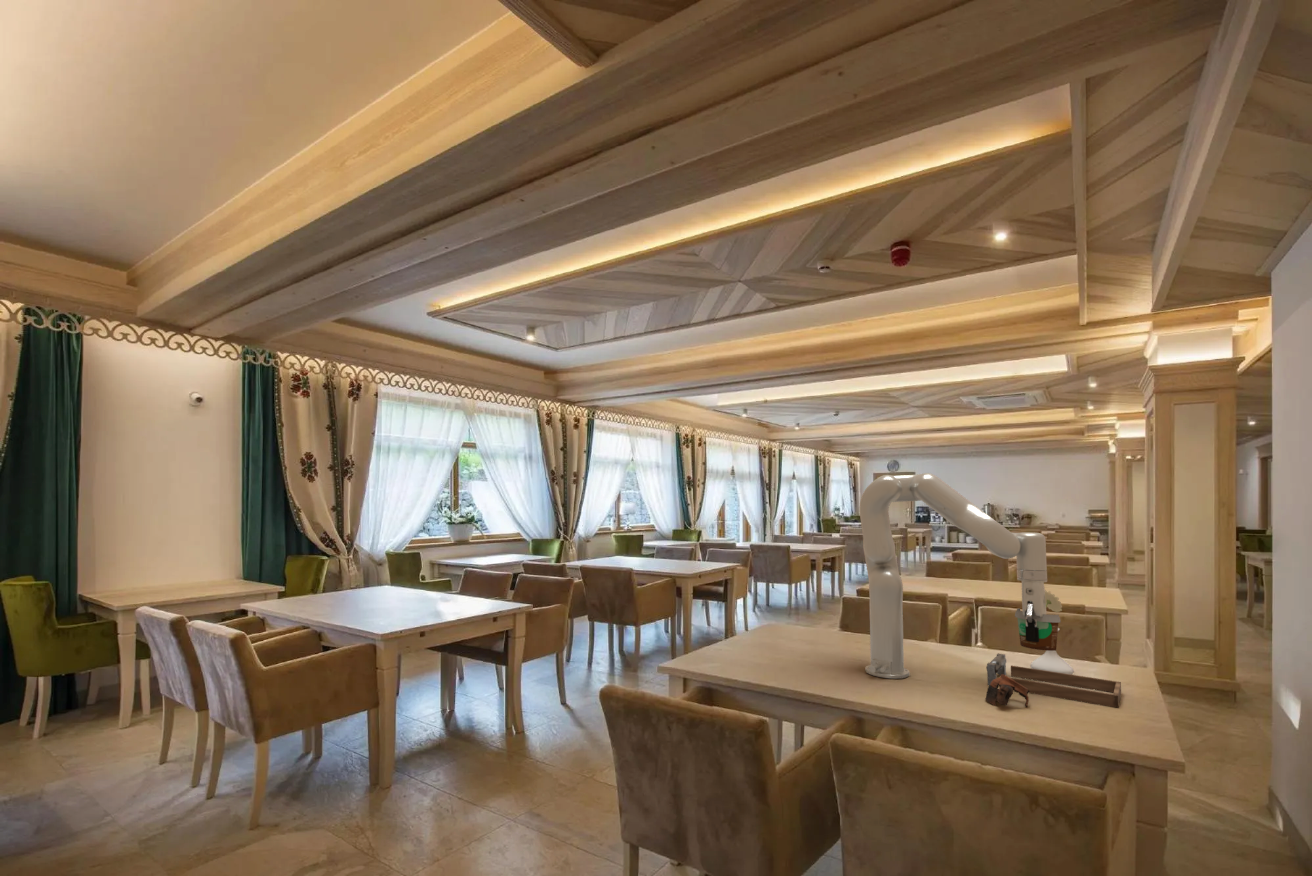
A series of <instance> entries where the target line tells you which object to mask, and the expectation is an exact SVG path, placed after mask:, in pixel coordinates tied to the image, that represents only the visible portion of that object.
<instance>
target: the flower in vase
mask: <svg viewBox="0 0 1312 876" xmlns="http://www.w3.org/2000/svg"><path fill="white" fill-rule="evenodd" d="M1059 599H1060V598H1059V597H1058V596H1056V595H1055V594H1054V593H1052V591H1050V590H1046V589H1045V601H1046V609H1048V610H1051V611H1052V612H1055V613H1060V612H1062V611H1063V609H1062V608H1063V605H1062V603H1061V601H1060V600H1059ZM1059 631H1060V628H1059V627H1058V632H1059ZM1029 666H1030V667H1031V668H1032V669H1038V670H1045V671H1052V672H1058V673H1065V674H1071V675H1074V672H1075V670H1074V668H1073V666H1071V665H1070V663H1068V662H1067V661H1066V660H1065V659H1064V658H1063V657H1061V656H1060V655H1059V654H1058V653H1057V649H1056V650H1055V651H1047V650H1045V652H1044V653H1043V654H1041V655H1040V656H1038V657H1037V658H1035V659H1034V660H1033V661H1031V663H1030V665H1029Z"/></svg>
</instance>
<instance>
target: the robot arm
mask: <svg viewBox="0 0 1312 876" xmlns="http://www.w3.org/2000/svg"><path fill="white" fill-rule="evenodd" d="M919 501H921V502H923V503H924V504H926V505H927V506H928V507H929V508H930V509H932V510H933V511H935V512H936V513H937V514H938V515H940V516H941V517H943V518H944V519H945V520H946V521H948V523H950V524H952V525H953V526H954V527H956V528H958V529H959V530H961V531H964V532H965V533H966V534H969V535H970V536H971V537H973V538H974V539H975V540H977V541H978V542H979V543H981V544H983V546H985V547H986V550H988V551H989V552H990V553H991V554H992V555H994V556H996V557H999V558H1002V559H1004V560H1005V559H1006V560H1008V559H1013V558H1015V557H1016V558H1015V559H1016V575H1017V576H1016V577H1017V578H1016V579H1017V581H1020V582H1021V604H1022V605H1021V607H1022V611H1023V615H1024V616H1026V626H1025V629H1026V641H1031V642H1039V628H1037V620H1034V619H1033V616H1032V614H1033V613H1036V615H1035V616H1040V618H1042V617H1043V614H1047V608H1046V601H1045V590H1046V589H1045V584H1044V583H1047V582H1048V569H1047V567H1048V566H1047V545H1046V544H1047V542H1046V537H1045V535H1044V534H1043V533H1039V532H1024V531H1022V532H1012V531H1010V530H1009V529H1007V528H1006V527H1005V526H1004V525H1002V524H1000V523H999V522H998V521H996V520H995V519H994V518H992V517H991V516H990V515H988V514H987V513H986V512H984V511H983V510H981V509H980V508H979V507H978V506H977V505H975V504H974V503H973V502H972V501H970V500H969V499H968V498H966V497H964V496H963V495H962V494H961V493H959V492H958V491H957V490H955V489H954V488H953V487H952V486H950V485H949V484H947V483H946V482H945V481H943V480H942V479H941V478H939V477H938V476H937V475H935V474H933V473H931V472H930V473H929V472H923V473H919V474H908V475H907V474H905V475H904V474H903V475H891V474H883V475H881V476H879V477H877V478H876V479H874V480H873V481H872V482H871V483H870V484H869V485H867V487H866V488H865V489H864V491H863V493H862V494H861V498H860V502H859V517H860V524H861V531H862V540H863V543H862V546H863V548H862V549H863V554H864V559H865V564H866V570H867V575H868V591H869V593H868V594H869V595H868V596H869V598H868V599H869V635H870V637H869V639H870V641H869V642H870V643H869V645H870V646H869V647H870V649H869V650H870V664H868V665H866V666H865V667H864V668H865V670H864V671H865V673H867V674H869V675H870V676H874V677H878V678H884V679H897V680H898V679H905V678H908V677H909V676H910V674H911V673H910V670H909V669H907V668H905V667H904V666H905V663H904V661H905V660H904V619H903V618H904V615H903V603H904V601H903V599H904V587H903V586H904V585H903V584H904V583H903V580H902V577H901V576H900V570H899V566H898V560H897V559H898V558H897V554H896V544H895V541H894V539H893V534H892V528H891V522H890V514H889V508H890V505H891V503H894V502H895V503H896V502H898V503H899V502H919ZM1025 612H1026V613H1025ZM1025 614H1026V615H1025Z"/></svg>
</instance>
